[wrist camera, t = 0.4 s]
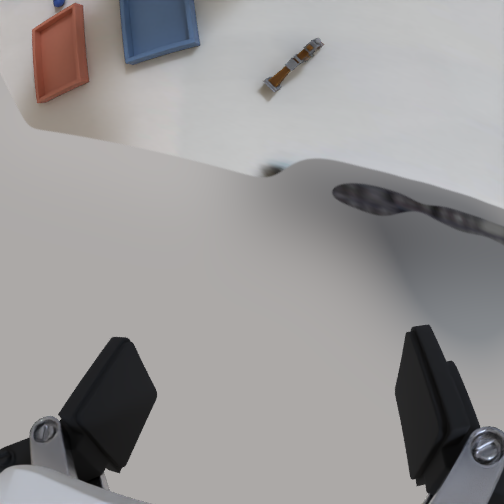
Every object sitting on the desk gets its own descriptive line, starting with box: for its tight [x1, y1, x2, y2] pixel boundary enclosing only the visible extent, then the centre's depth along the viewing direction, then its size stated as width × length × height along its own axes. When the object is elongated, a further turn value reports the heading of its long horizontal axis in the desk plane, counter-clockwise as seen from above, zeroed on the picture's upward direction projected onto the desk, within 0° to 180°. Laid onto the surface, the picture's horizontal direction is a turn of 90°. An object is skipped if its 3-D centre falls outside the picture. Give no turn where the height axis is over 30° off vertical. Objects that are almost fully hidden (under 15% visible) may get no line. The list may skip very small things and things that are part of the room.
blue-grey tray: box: [119, 0, 200, 65], centre depth 28 cm, size 13×9×2 cm
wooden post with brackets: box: [263, 38, 324, 92], centre depth 29 cm, size 2×8×4 cm, turn 134°
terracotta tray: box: [32, 3, 89, 103], centre depth 32 cm, size 13×9×2 cm
